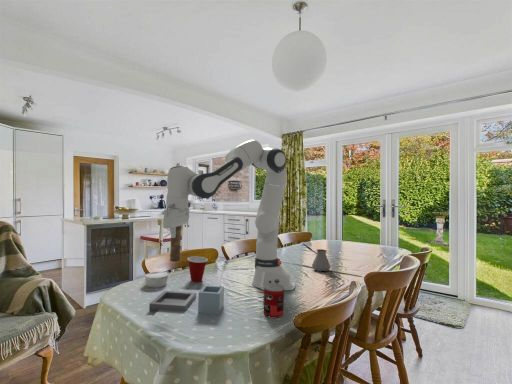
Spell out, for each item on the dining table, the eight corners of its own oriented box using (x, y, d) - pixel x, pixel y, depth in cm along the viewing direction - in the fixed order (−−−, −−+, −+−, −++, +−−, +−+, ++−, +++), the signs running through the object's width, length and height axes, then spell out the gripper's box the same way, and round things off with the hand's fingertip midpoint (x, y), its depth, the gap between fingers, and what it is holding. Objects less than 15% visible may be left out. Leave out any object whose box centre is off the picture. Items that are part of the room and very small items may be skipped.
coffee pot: (333, 270, 179) (334, 247, 179) (323, 274, 171) (324, 249, 171) (306, 263, 195) (307, 242, 195) (296, 266, 187) (296, 244, 187)
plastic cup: (202, 284, 145) (203, 261, 145) (183, 282, 148) (183, 259, 148) (210, 278, 156) (210, 256, 156) (191, 276, 158) (192, 255, 158)
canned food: (262, 309, 117) (263, 283, 117) (281, 309, 117) (282, 283, 117) (264, 318, 109) (265, 289, 109) (284, 318, 110) (285, 289, 110)
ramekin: (160, 279, 151) (160, 270, 151) (172, 284, 144) (172, 274, 144) (140, 284, 143) (140, 274, 143) (152, 290, 136) (152, 279, 135)
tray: (196, 299, 126) (196, 292, 126) (184, 313, 111) (185, 305, 111) (164, 297, 127) (164, 290, 127) (149, 311, 112) (149, 303, 112)
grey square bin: (223, 308, 117) (224, 286, 117) (219, 316, 109) (219, 293, 109) (203, 306, 118) (204, 285, 118) (197, 315, 110) (198, 292, 110)
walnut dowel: (181, 259, 121) (182, 227, 121) (177, 261, 117) (179, 228, 117) (172, 259, 121) (173, 226, 121) (168, 261, 117) (169, 227, 117)
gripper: (175, 205, 108) (174, 241, 108) (191, 203, 129) (190, 233, 129) (159, 204, 109) (158, 240, 109) (178, 202, 129) (177, 232, 129)
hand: (176, 236), depth 119 cm, fingers closed on walnut dowel, 4 cm apart
